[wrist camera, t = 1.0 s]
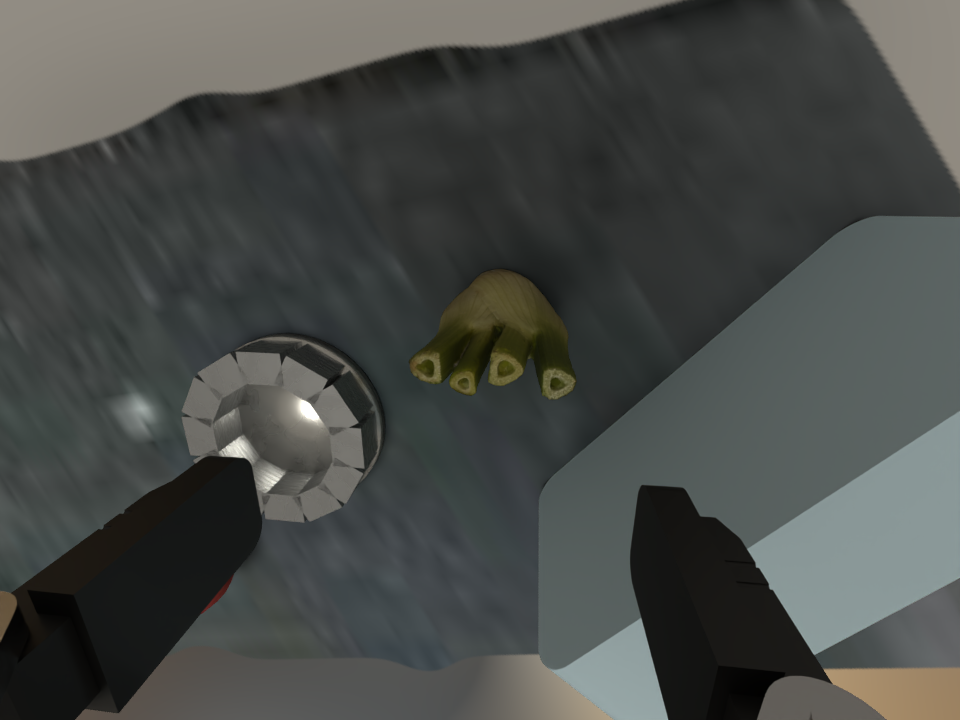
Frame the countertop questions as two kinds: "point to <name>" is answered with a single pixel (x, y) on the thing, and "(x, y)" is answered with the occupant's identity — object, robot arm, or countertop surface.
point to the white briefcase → (780, 459)
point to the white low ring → (289, 422)
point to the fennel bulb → (498, 338)
